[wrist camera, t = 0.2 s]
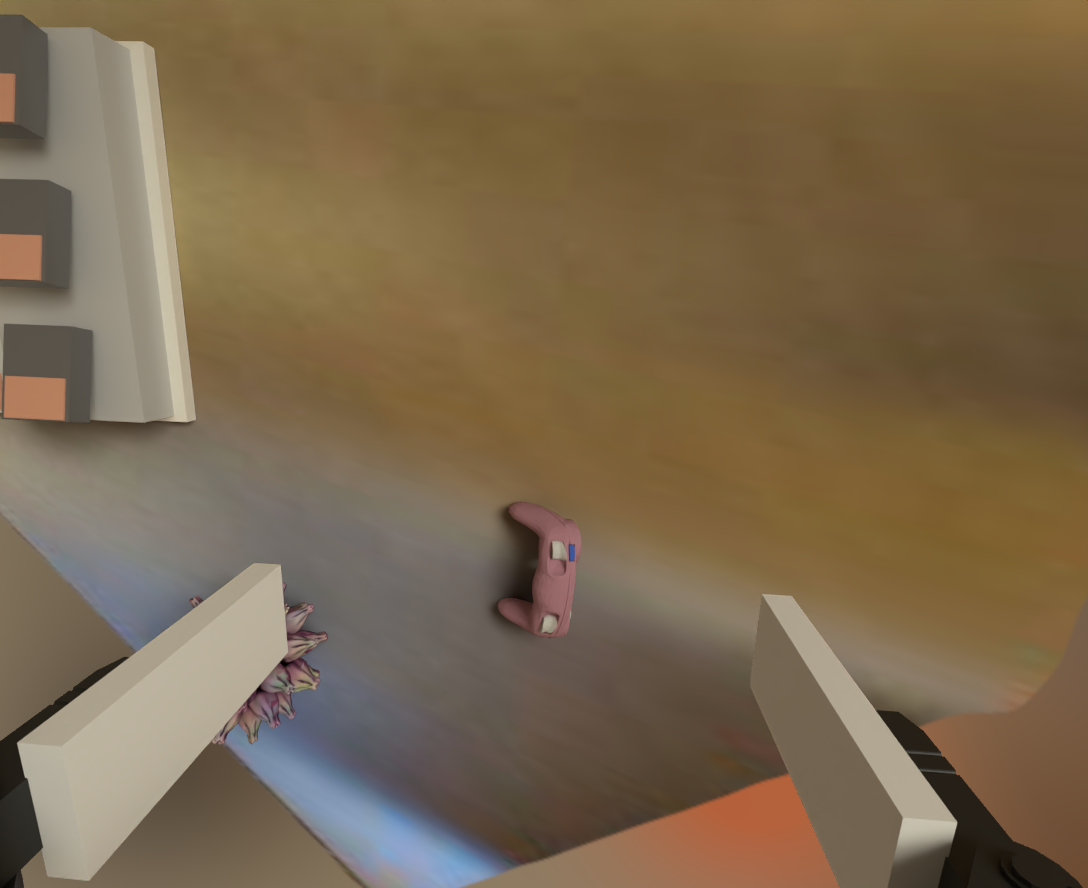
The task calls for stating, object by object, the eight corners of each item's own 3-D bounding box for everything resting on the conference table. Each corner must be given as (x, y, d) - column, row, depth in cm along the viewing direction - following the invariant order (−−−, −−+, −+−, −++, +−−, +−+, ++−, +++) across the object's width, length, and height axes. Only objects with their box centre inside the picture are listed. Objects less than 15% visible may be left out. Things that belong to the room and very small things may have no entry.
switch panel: (-115, 46, 39) (-192, 16, 35) (154, 48, 38) (105, 18, 34) (-39, 407, 45) (-97, 416, 41) (195, 419, 44) (158, 430, 40)
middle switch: (3, 189, 37) (-26, 177, 35) (71, 190, 36) (46, 179, 35) (0, 286, 37) (-28, 279, 35) (68, 289, 36) (43, 281, 35)
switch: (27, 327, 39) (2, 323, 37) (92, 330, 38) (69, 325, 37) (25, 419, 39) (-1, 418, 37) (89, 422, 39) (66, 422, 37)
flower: (195, 625, 48) (73, 723, 37) (263, 526, 46) (155, 597, 34) (304, 700, 49) (218, 818, 38) (377, 607, 47) (309, 704, 35)
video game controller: (544, 603, 47) (579, 652, 41) (493, 609, 46) (522, 661, 39) (558, 495, 45) (599, 529, 39) (505, 496, 43) (539, 532, 37)
